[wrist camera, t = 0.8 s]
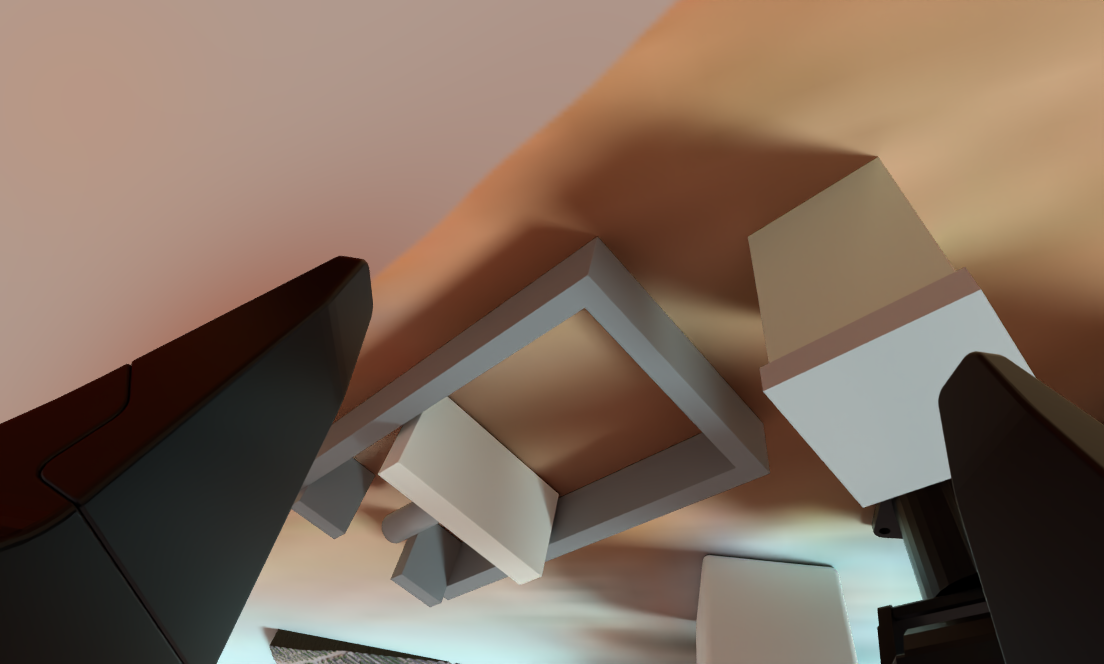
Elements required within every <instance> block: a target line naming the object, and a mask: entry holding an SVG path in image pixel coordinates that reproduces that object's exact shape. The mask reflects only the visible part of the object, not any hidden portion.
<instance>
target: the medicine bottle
mask: <svg viewBox="0 0 1104 664" xmlns="http://www.w3.org/2000/svg"><path fill="white" fill-rule="evenodd" d="M696 655H697V664H858V660H857V655H856V651H855V646H854V641H853V637H852V632H851V627H850V623H849V618H848V614H847V609H846V604H845V600H844V595H843V591H842V586H841V581H840V577H839V573H838V571H837V570H836V569H834V568H832V567H822V566H812V565H802V564H792V563H783V562H773V561H763V560H753V559H743V558H733V557H723V556H713V555H707V556H705V557H704V559H703V563H702V573H701V582H700V592H699V601H698V611H697V621H696Z"/></svg>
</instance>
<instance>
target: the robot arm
mask: <svg viewBox="0 0 1104 664" xmlns="http://www.w3.org/2000/svg"><path fill="white" fill-rule="evenodd" d="M372 310H373V299H372V290H371V280H370V272H369V266H368V263H367V262H366V261H365V260H364V259H359V258H353V257H347V256H338V257H335V258H333V259H331V260H329V261H327V262H325V263H323V264H322V265H320V266H318V267H316V268H314V269H312V270H310V271H308V272H306V273H304V274H302V275H300V276H298V277H296V278H294V279H292V280H290V281H288V282H287V283H285V284H282V285H281V286H279V287H277V288H275V289H273V290H271V291H269V292H267V293H265V294H263V295H261V296H259V297H257V298H255V299H253V300H251V301H249V302H247V303H245V304H243V305H241V306H239V307H237V308H235V309H233V310H232V311H230V312H228V313H226V314H224V315H222V316H220V317H218V318H216V319H214V320H212V321H210V322H208V323H206V324H204V325H202V326H200V327H199V328H196V329H195V330H192V331H190V332H189V333H187V334H185V335H183V336H181V337H179V338H177V339H175V340H173V341H171V342H169V343H167V344H165V345H163V346H161V347H159V348H157V349H155V350H153V351H151V352H149V353H147V354H146V355H143V356H142V357H139V358H137V359H136V360H134V361H133V362H132V364H131V365H129V364H126V365H124V366H122V367H120V368H118V369H116V370H114V371H112V372H110V373H108V374H106V375H104V376H102V377H100V378H98V379H96V380H94V381H92V382H90V383H88V384H86V385H84V386H82V387H80V388H78V389H76V390H74V391H72V392H69V393H67V394H65V395H63V396H61V397H59V398H57V399H55V400H53V401H51V402H48V403H46V404H44V405H42V406H39V407H37V408H35V409H33V410H30V411H28V412H26V413H24V414H22V415H19V416H17V417H15V418H13V419H10V420H8V421H6V422H3V423H1V424H0V664H217V662H218V660H219V657H220V655H221V653H222V651H223V649H224V647H225V645H226V643H227V641H228V639H229V637H230V635H231V633H232V631H233V628H234V626H235V624H236V622H237V620H238V618H239V616H240V614H241V612H242V610H243V608H244V606H245V604H246V601H247V599H248V597H249V595H250V593H251V591H252V589H253V587H254V585H255V583H256V581H257V579H258V577H259V575H260V572H261V570H262V568H263V566H264V564H265V562H266V560H267V558H268V556H269V554H270V552H271V550H272V548H273V545H274V543H275V541H276V539H277V537H278V535H279V533H280V531H281V529H282V527H283V525H284V523H285V521H286V519H287V516H288V514H289V512H290V510H291V508H292V506H293V504H294V502H295V500H296V498H297V496H298V494H299V492H300V489H301V487H302V485H303V483H304V481H305V479H306V477H307V475H308V473H309V471H310V469H311V467H312V465H313V463H314V460H315V458H316V456H317V454H318V452H319V450H320V448H321V446H322V444H323V442H324V440H325V438H326V436H327V433H328V431H329V429H330V427H331V425H332V423H333V421H334V419H335V417H336V415H337V413H338V410H339V408H340V406H341V404H342V401H343V399H344V397H345V394H346V391H347V388H348V385H349V382H350V379H351V376H352V373H353V371H354V368H355V365H356V362H357V359H358V356H359V353H360V350H361V347H362V344H363V341H364V338H365V335H366V332H367V329H368V326H369V323H370V320H371V316H372ZM938 407H939V413H940V418H941V424H942V430H943V435H944V441H945V446H946V452H947V458H948V463H949V469H950V474H951V478H950V479H947V480H944V481H941V482H938V483H935V484H932V485H929V486H926V487H923V488H920V489H917V490H914V491H911V492H908V493H905V494H902V495H899V496H896V497H893V498H890V499H888V500H885V501H882V502H879V503H877V505H876V509H875V513H874V517H873V521H872V528H873V532H874V534H875V535H876V536H878V537H883V538H899V539H903V540H904V543H905V546H906V549H907V553H908V556H909V559H910V562H911V565H912V568H913V571H914V574H915V577H916V580H917V583H918V586H919V589H920V593H921V596H922V599H923V600H921V601H916V602H912V603H908V604H903V605H899V606H895V607H892V606H891V605H889V606H884V607H880V608H878V620H879V626H878V628H877V629H878V639H879V649H880V659H881V664H1104V425H1103V424H1102V423H1100V422H1099V421H1097V420H1096V419H1095V418H1093V417H1092V416H1090V415H1089V414H1087V413H1086V412H1084V411H1083V410H1082V409H1080V408H1079V407H1077V406H1076V405H1074V404H1073V403H1071V402H1070V401H1069V400H1067V399H1066V398H1064V397H1063V396H1061V395H1060V394H1058V393H1057V392H1055V391H1054V390H1053V389H1051V388H1050V387H1048V386H1047V385H1045V384H1044V383H1042V382H1041V381H1040V380H1038V379H1037V378H1035V377H1034V376H1032V375H1031V374H1029V373H1028V372H1027V371H1025V370H1024V369H1022V368H1021V367H1019V366H1018V365H1016V364H1015V363H1013V362H1012V361H1011V360H1009V359H1008V358H1006V357H1004V356H1002V355H999V354H992V353H986V352H979V351H975V352H971V353H969V354H967V355H966V356H965V357H964V358H963V359H962V361H961V362H960V364H959V365H958V366H957V368H956V369H955V370H954V372H953V373H952V375H951V376H950V377H949V379H948V380H947V382H946V383H945V384H944V386H943V387H942V389H941V391H940V393H939V398H938Z"/></svg>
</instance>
